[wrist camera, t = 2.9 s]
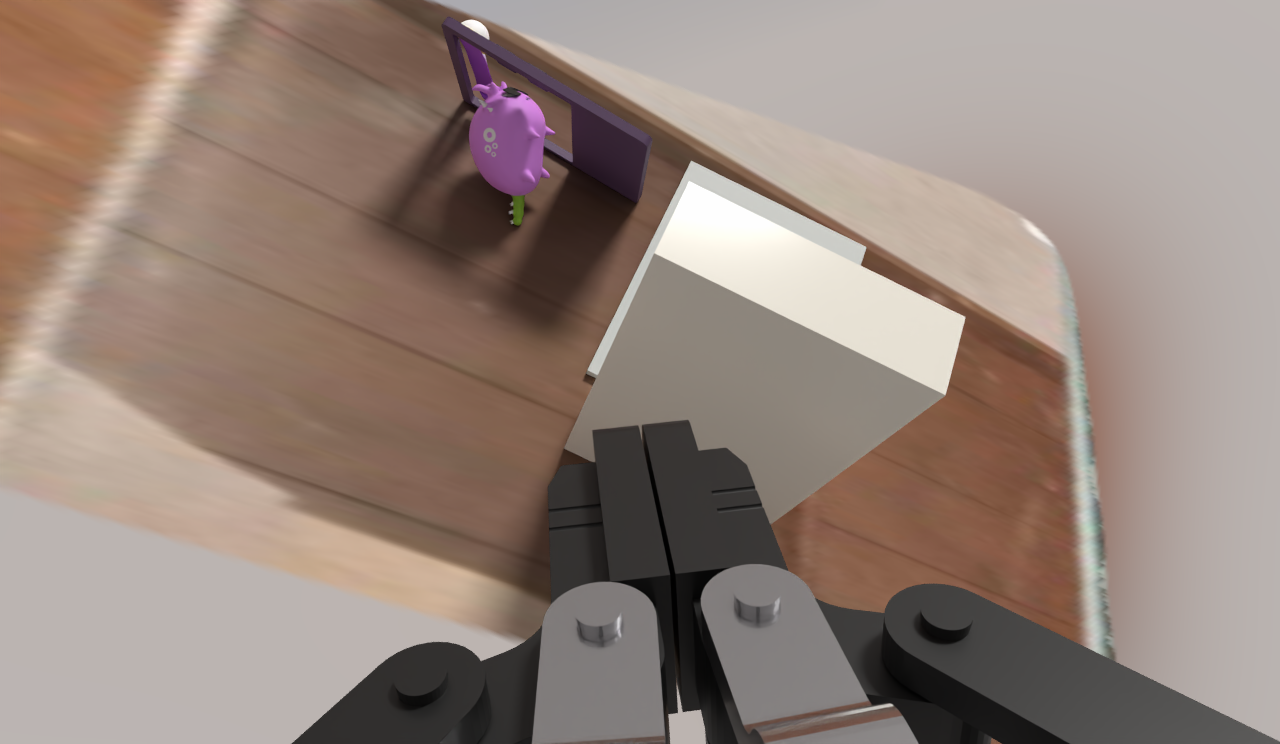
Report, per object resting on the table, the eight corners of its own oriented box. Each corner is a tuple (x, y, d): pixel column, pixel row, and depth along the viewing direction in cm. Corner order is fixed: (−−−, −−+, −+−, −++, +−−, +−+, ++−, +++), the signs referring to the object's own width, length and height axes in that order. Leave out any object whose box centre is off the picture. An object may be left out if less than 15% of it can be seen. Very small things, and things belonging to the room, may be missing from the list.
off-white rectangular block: (563, 448, 34) (654, 253, 22) (591, 392, 36) (691, 177, 23) (752, 538, 35) (945, 395, 22) (772, 479, 36) (966, 312, 23)
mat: (586, 373, 36) (587, 370, 36) (689, 164, 41) (691, 160, 41) (788, 470, 36) (791, 468, 36) (863, 250, 42) (866, 247, 41)
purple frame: (663, 121, 34) (457, -2, 34) (590, 236, 33) (379, 110, 33) (649, 183, 40) (477, 81, 40) (588, 280, 39) (413, 175, 40)
